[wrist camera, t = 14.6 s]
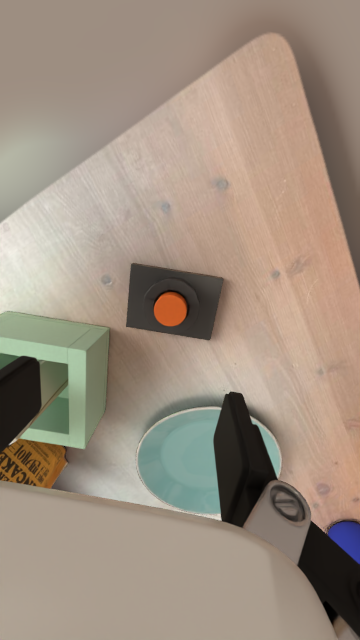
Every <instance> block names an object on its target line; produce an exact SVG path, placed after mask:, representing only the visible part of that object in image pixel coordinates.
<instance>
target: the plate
mask: <svg viewBox="0 0 360 640" xmlns="http://www.w3.org/2000/svg"><path fill="white" fill-rule="evenodd" d="M221 408H222V407H217V406H204V407H195V408H190V409H186V410H182V411H179V412H176V413H174V414H171V415H169V416H167V417H165V418H163V419H161V420H160V421H158V422H157V423H155V424H154V425H153V426H152V427H151V428H150V429H149V430H148V431H147V432H146V433H145V434H144V436H143V437H142V439H141V440H140V442H139V445H138V448H137V452H136V468H137V472H138V475H139V477H140V479H141V481H142V483H143V484H144V486H145V487H146V488H147V489H148V491H149V492H150V493H151V494H152V495H154V496H155V497H156V498H157V499H159V500H160V501H162V502H164V503H165V504H167V505H169V506H172V507H174V508H176V509H179V510H182V511H185V512H189V513H194V514H202V515H218V514H221V510H220V501H219V492H218V482H217V473H216V463H215V454H214V445H213V438H214V433H215V429H216V426H217V422H218V419H219V415H220V412H221ZM250 418H251V421H252V424H256V425H257V426H258V427H259V429H260V432H261V435H262V437H263V440H264V443H265V446H266V448H267V451H268V454H269V456H270V459H271V462H272V465H273V467H274V470H275V473H276V476H277V478H279V475H280V473H281V468H282V454H281V450H280V447H279V444H278V442H277V440H276V438H275V437H274V435H273V434H272V433H271V432H270V430H269V429H268V428H267V427H266V426H265V425H264V424H262V423H261V422H260V421H258V420H257V419H255V418H254V417H252V416H250Z"/></svg>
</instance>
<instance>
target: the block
mask: <svg viewBox="0 0 360 640" xmlns="http://www.w3.org/2000/svg"><path fill="white" fill-rule="evenodd" d="M222 284H223V278H222V277H216V276H210V275H204V274H198V273H191V272H185V271H179V270H173V269H167V268H161V267H155V266H149V265H142V264H136V263H133V264H131V272H130V285H129V298H128V311H127V323H126V327H131V328H138V329H144V330H150V331H156V332H162V333H168V334H174V335H180V336H187V337H193V338H199V339H205V340H210V339H211V334H212V330H213V325H214V321H215V316H216V311H217V307H218V302H219V298H220V293H221V288H222ZM167 292H176V293H178V294H180V295H181V296H182V297H183V298H184V299H185V301H186V304H187V312H186V317H185V319H184V320H183V321H182V322H181V323H180V324H178V325H176V326H165V325H163V324H161V323H160V322H159V321H158V320H157V319H156V317H155V314H154V306H155V303H156V302H157V300H158V299H159V297H160V296H161V295H163V294H164V293H167Z"/></svg>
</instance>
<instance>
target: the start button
mask: <svg viewBox="0 0 360 640" xmlns="http://www.w3.org/2000/svg"><path fill="white" fill-rule="evenodd" d="M186 312H187V304H186V301H185V299H184V298H183V297H182V296H181V295H180V294H178V293H176V292H167V293H164V294H163V295H161V296H160V297H159V299H158V300H157V302H156V303H155V306H154V314H155V317H156V319H157V320H158V321H159V322H160V323H161V324H163V325H165V326H176V325H178V324H180V323H181V322H182V321H183V320H184V319H185V317H186Z"/></svg>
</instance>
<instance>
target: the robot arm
mask: <svg viewBox="0 0 360 640" xmlns="http://www.w3.org/2000/svg"><path fill="white" fill-rule="evenodd" d="M41 406H42V400H41V379H40V363H39V361H37V359H36V358H35V357H29V356H20V357H19V358H17V359H16V360H14V361H12V362H11V363H9V364H8V365H6V366H5V367H3V368H2V369H0V454H1V453H2V452H3V451H4V450H5V449H6V447H7V446H8V445H9V444H10V443H11V442H12V441H13V440H14V439H15V438H16V437H17V436H18V434H19V433H20V432H21V431H22V430H23V429H24V428H25V427H26V426H27V425H28V424H29V423H30V421H31V420H32V419H33V418H34V417H35V416H36V415H37V414H38V413H39V411H40V409H41ZM213 445H214V454H215V463H216V473H217V482H218V492H219V501H220V510H221V519H222V521H219V520H215V519H211V518H207V517H202V516H197V515H192V514H187V513H182V512H177V511H172V510H167V509H162V508H156V507H151V506H145V505H140V504H134V503H129V502H123V501H117V500H112V499H106V498H101V497H95V496H89V495H83V494H78V493H72V492H66V491H60V490H55V489H49V488H43V487H37V486H31V485H25V484H19V483H13V482H7V481H1V480H0V640H360V564H359V563H358V562H356V561H355V560H354V559H353V558H352V557H351V556H350V555H349V554H348V553H346V552H345V551H344V550H343V549H342V548H341V547H340V546H339V545H338V544H337V543H335V542H334V541H333V540H332V539H331V538H330V537H329V536H328V535H327V534H325V533H324V532H323V531H322V530H321V529H320V528H319V527H318V526H317V525H316V524H314V523H313V522H312V521H311V512H310V508H309V506H308V504H307V502H306V500H305V499H304V497H303V496H302V495H301V494H300V492H298V491H297V490H296V489H295V488H294V487H293V486H291V485H290V484H288V483H286V482H283V481H279V480H278V478H277V476H276V473H275V470H274V467H273V465H272V462H271V459H270V456H269V454H268V451H267V448H266V446H265V443H264V440H263V437H262V435H261V432H260V429H259V427H258V426H257V425H256V424H252V421H251V418H250V415H249V412H248V409H247V406H246V403H245V400H244V397H243V395H242V394H241V393H236V392H230V393H229V394H226V395H225V397H224V401H223V404H222V408H221V412H220V415H219V419H218V422H217V426H216V429H215V433H214V438H213Z"/></svg>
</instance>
